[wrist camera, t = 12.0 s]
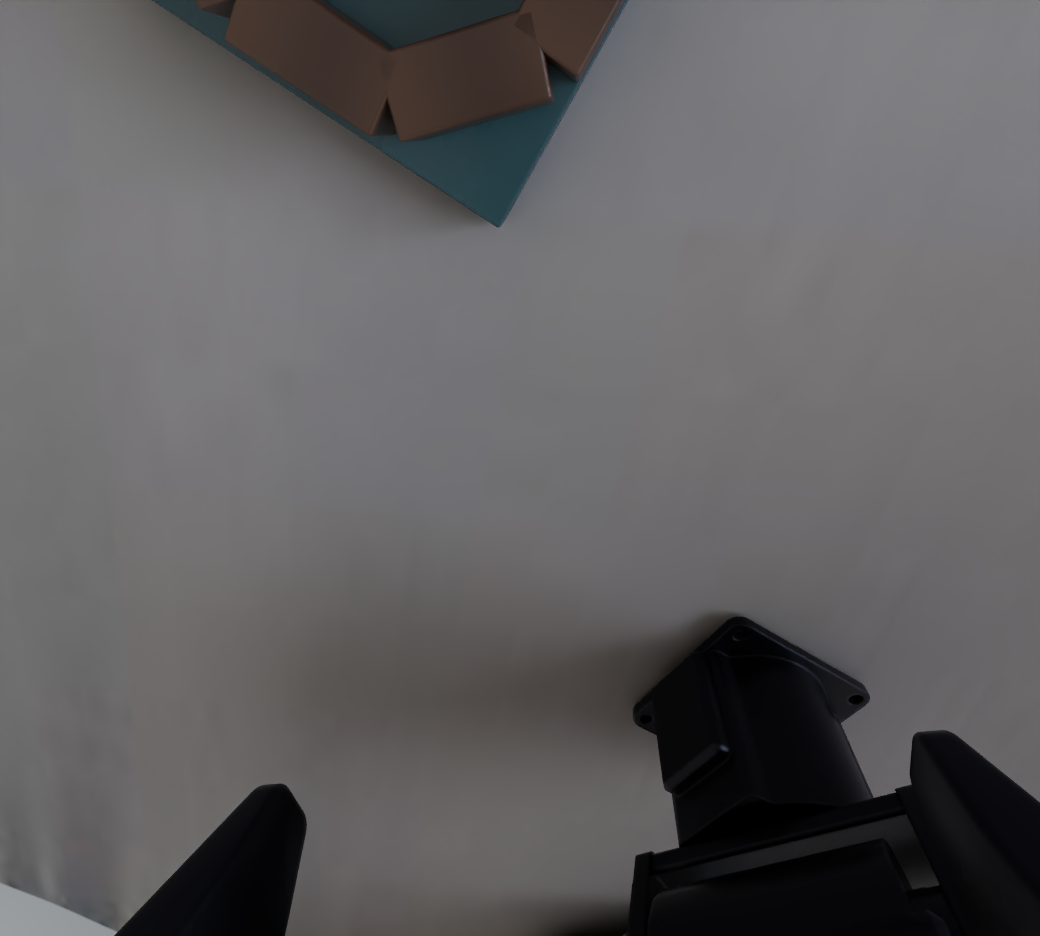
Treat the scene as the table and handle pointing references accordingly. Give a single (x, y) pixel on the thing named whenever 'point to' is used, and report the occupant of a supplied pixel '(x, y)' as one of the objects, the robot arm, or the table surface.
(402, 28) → the post stand
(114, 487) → the table surface
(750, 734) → the robot arm
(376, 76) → the ring
